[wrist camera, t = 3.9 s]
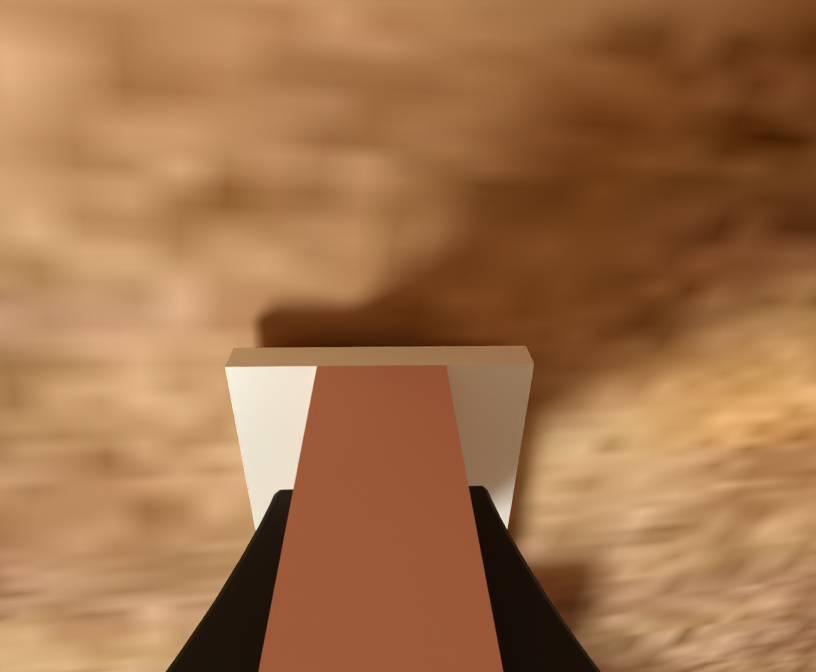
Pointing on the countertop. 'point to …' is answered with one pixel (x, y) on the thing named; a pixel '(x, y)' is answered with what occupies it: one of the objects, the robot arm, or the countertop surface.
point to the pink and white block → (380, 498)
